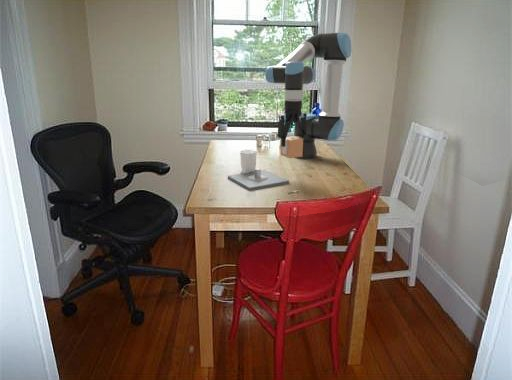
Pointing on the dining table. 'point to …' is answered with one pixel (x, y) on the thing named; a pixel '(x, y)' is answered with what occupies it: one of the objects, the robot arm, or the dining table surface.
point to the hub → (257, 179)
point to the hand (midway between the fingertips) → (291, 152)
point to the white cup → (248, 160)
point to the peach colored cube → (293, 147)
